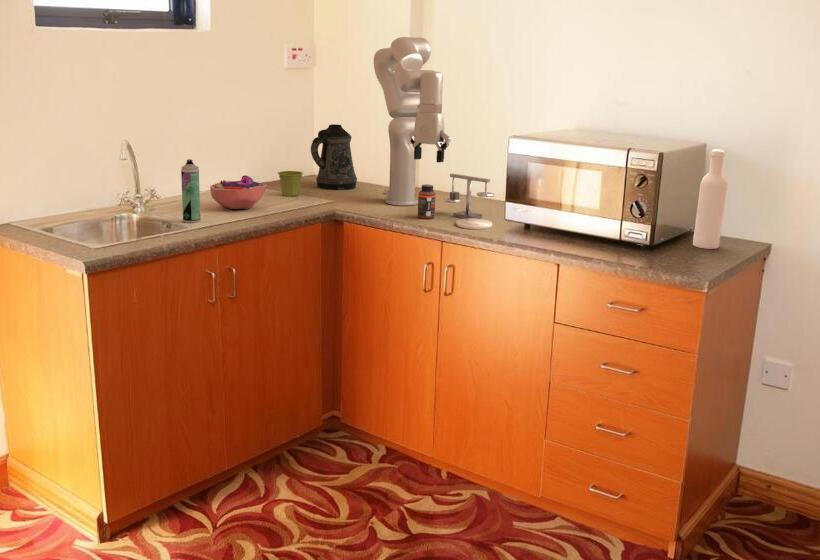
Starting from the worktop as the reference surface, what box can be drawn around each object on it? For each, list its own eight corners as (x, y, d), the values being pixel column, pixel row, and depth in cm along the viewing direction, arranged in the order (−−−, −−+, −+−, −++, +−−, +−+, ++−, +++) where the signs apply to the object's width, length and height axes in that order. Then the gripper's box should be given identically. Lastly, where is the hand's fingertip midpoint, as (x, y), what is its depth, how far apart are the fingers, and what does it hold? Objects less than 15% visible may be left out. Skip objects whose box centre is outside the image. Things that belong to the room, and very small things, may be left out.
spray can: (194, 218, 284) (192, 158, 278) (203, 221, 280) (201, 160, 274) (179, 220, 280) (177, 159, 274) (188, 223, 276) (186, 161, 271)
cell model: (201, 207, 302) (200, 175, 299) (250, 201, 315) (250, 171, 312) (225, 215, 290) (224, 182, 287) (276, 209, 303) (275, 177, 300)
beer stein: (363, 185, 356) (364, 124, 349) (343, 192, 339) (344, 128, 332) (327, 182, 362) (327, 121, 355) (305, 189, 344) (305, 125, 337)
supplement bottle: (433, 219, 295) (434, 187, 292) (416, 218, 296) (417, 186, 293) (436, 216, 300) (437, 184, 297) (419, 215, 301) (420, 183, 298)
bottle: (688, 242, 274) (700, 148, 266) (712, 243, 274) (725, 148, 266) (698, 249, 266) (710, 151, 258) (723, 249, 267) (736, 152, 259)
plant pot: (301, 197, 326) (301, 175, 323) (276, 197, 326) (276, 174, 323) (304, 193, 335) (304, 171, 332) (280, 192, 335) (280, 170, 332)
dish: (449, 225, 287) (449, 221, 287) (470, 220, 296) (470, 216, 296) (478, 231, 280) (478, 227, 280) (499, 225, 289) (499, 222, 288)
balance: (439, 213, 305) (441, 173, 302) (450, 211, 310) (451, 172, 306) (486, 222, 293) (488, 181, 289) (496, 220, 298) (498, 179, 294)
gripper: (403, 108, 290) (402, 158, 295) (444, 111, 280) (442, 164, 284) (417, 107, 296) (416, 157, 300) (458, 110, 285) (455, 162, 290)
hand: (428, 160), depth 292 cm, fingers open, 9 cm apart
